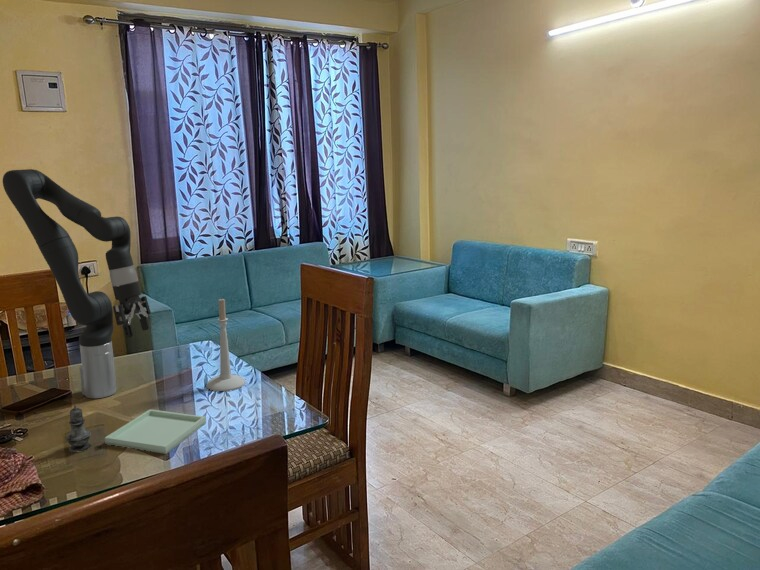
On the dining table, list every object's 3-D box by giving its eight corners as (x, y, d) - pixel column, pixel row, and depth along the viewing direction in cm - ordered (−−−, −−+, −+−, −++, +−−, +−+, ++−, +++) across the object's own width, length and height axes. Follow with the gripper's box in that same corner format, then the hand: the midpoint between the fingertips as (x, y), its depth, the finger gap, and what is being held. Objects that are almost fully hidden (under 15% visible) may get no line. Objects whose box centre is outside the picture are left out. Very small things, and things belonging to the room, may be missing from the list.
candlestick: (252, 380, 197) (249, 295, 191) (231, 393, 185) (227, 304, 179) (221, 375, 201) (216, 292, 195) (198, 388, 189) (192, 300, 183)
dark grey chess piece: (81, 454, 146) (76, 410, 143) (61, 452, 147) (56, 408, 145) (97, 443, 152) (92, 401, 149) (78, 441, 153) (73, 399, 150)
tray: (105, 444, 151) (104, 437, 151) (150, 415, 169) (149, 409, 168) (166, 453, 146) (165, 446, 146) (206, 423, 164) (205, 416, 163)
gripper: (128, 280, 181) (140, 329, 183) (99, 288, 167) (113, 341, 169) (149, 276, 179) (161, 326, 182) (122, 284, 165) (135, 338, 168)
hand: (138, 333), depth 175 cm, fingers open, 8 cm apart
